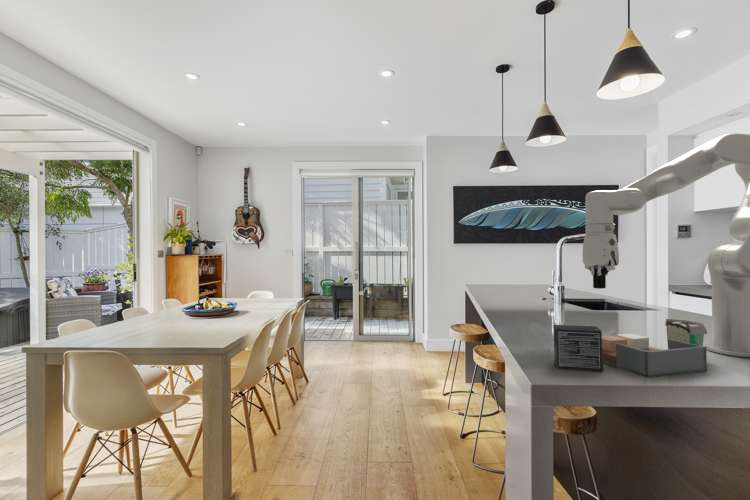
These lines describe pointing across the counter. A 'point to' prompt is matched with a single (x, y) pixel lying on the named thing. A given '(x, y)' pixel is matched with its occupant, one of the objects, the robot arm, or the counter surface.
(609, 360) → the walnut board
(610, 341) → the terracotta tile
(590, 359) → the small box
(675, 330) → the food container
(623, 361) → the tray
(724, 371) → the counter surface
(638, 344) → the cream tile
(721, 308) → the robot arm
